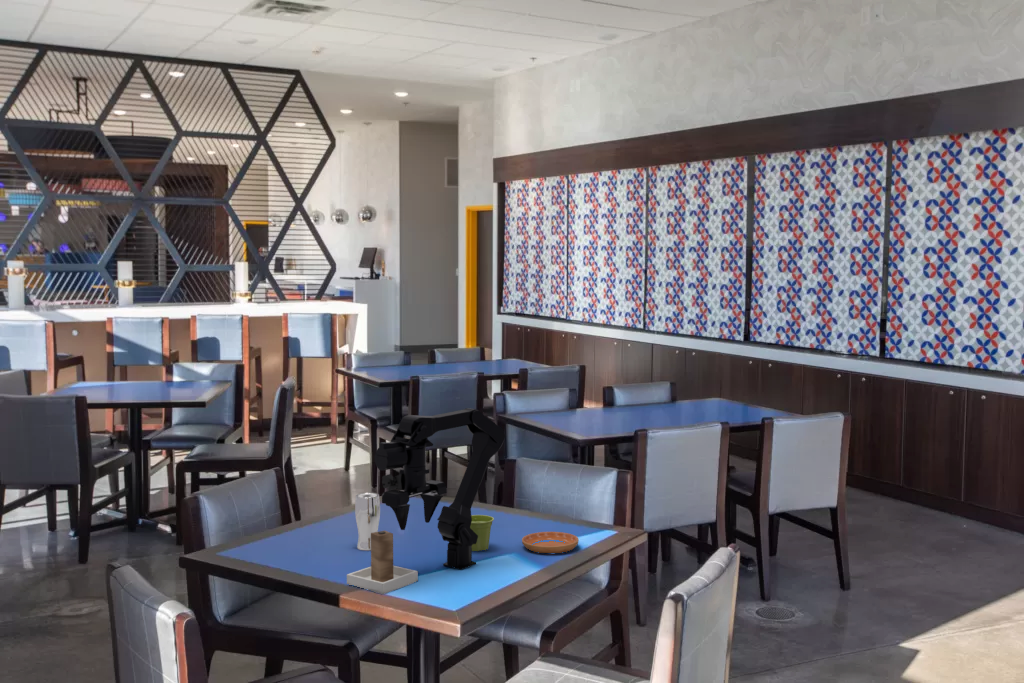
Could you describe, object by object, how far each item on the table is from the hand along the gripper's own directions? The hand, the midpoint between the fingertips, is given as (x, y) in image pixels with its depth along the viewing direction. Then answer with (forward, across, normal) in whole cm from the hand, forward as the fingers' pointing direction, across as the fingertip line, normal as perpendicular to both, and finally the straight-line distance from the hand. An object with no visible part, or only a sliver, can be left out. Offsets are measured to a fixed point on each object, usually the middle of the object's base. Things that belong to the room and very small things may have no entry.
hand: (415, 526), depth 243 cm
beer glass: (+13, -12, -29) cm, 34 cm away
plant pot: (+13, -29, -3) cm, 32 cm away
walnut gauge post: (+12, +9, -3) cm, 16 cm away
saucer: (+14, -42, +13) cm, 46 cm away
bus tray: (+13, +9, -3) cm, 16 cm away
